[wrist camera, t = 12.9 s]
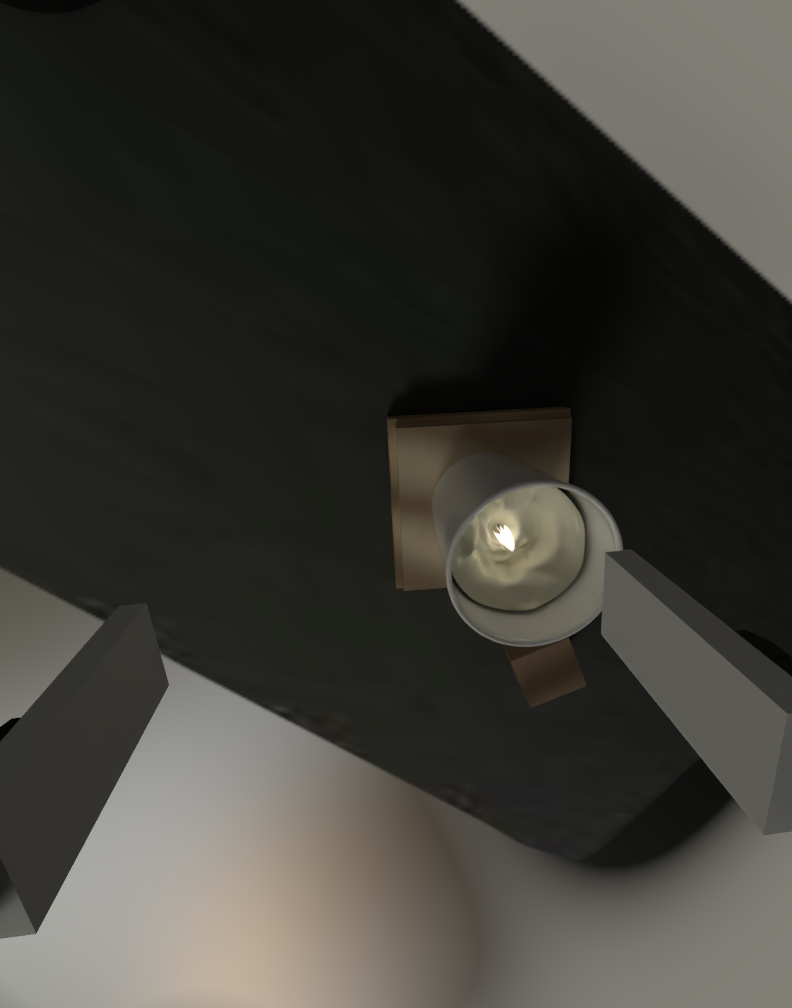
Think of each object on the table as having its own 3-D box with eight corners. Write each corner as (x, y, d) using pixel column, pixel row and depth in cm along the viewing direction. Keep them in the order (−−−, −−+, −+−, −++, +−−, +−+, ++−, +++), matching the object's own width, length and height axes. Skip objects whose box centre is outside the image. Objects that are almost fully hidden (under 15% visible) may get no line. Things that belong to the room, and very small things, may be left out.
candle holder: (418, 444, 37) (444, 487, 26) (549, 436, 38) (631, 474, 26) (423, 567, 40) (448, 654, 29) (545, 558, 41) (617, 640, 29)
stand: (386, 416, 40) (388, 421, 37) (563, 406, 40) (579, 411, 38) (395, 580, 44) (397, 596, 41) (555, 568, 45) (568, 584, 42)
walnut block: (495, 628, 46) (510, 661, 41) (547, 607, 46) (568, 637, 41) (513, 671, 48) (530, 708, 43) (563, 651, 47) (586, 685, 42)
